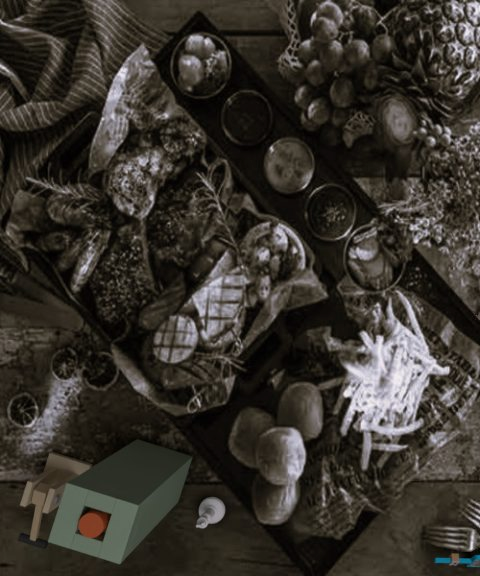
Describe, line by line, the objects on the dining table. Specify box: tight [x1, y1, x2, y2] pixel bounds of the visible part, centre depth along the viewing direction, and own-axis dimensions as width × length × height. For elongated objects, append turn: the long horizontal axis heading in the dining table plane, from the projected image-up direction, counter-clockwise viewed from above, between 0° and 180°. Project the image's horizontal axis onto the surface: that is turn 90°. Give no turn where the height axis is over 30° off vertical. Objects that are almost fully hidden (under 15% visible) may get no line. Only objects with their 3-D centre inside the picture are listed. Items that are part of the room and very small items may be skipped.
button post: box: [47, 438, 194, 565], centre depth 127 cm, size 11×9×33 cm
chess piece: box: [195, 496, 226, 529], centre depth 139 cm, size 5×5×10 cm
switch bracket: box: [19, 451, 93, 515], centre depth 138 cm, size 9×8×12 cm
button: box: [78, 508, 110, 538], centre depth 111 cm, size 4×4×3 cm
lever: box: [17, 483, 52, 550], centre depth 135 cm, size 12×5×2 cm, turn 163°
